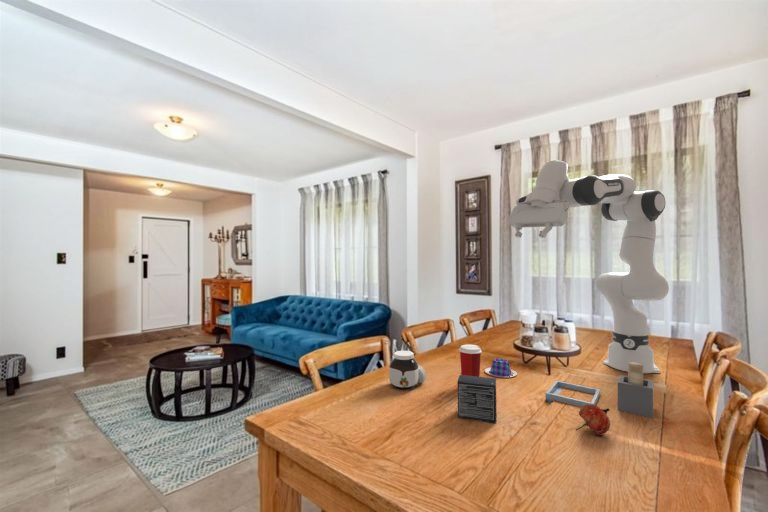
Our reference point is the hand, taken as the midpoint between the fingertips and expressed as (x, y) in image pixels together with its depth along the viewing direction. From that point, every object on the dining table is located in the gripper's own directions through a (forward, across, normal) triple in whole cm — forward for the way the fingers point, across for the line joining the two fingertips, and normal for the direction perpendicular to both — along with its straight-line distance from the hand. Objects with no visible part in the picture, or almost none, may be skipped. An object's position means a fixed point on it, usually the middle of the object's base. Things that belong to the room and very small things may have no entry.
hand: (529, 236), depth 116 cm
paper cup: (+54, +10, -10) cm, 56 cm away
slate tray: (+44, -15, -28) cm, 54 cm away
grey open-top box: (+40, -29, -34) cm, 60 cm away
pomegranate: (+50, -29, -14) cm, 60 cm away
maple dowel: (+39, -29, -33) cm, 59 cm away
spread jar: (+63, +22, +5) cm, 67 cm away
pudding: (+46, +14, -29) cm, 56 cm away
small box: (+60, -8, +3) cm, 60 cm away
